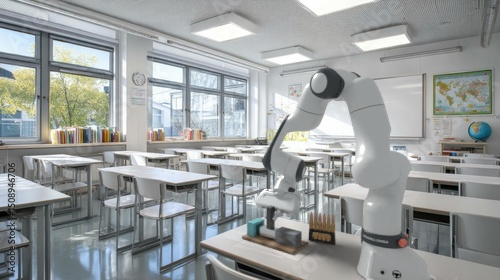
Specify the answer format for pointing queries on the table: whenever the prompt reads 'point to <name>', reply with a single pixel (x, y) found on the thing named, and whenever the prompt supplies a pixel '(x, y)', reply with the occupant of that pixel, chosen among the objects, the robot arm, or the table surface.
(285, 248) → the board
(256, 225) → the socket block
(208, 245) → the table surface
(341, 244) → the table surface
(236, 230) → the table surface
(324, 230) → the ammunition clip
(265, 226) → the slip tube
